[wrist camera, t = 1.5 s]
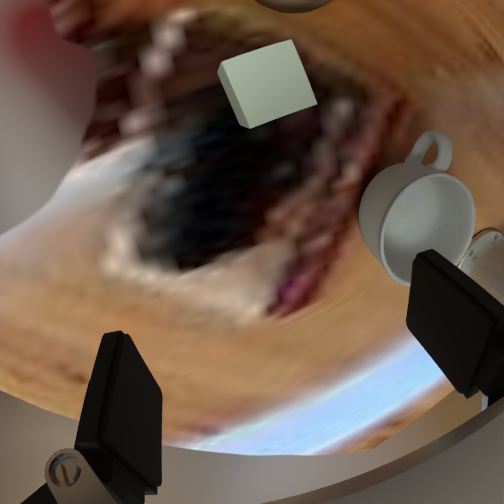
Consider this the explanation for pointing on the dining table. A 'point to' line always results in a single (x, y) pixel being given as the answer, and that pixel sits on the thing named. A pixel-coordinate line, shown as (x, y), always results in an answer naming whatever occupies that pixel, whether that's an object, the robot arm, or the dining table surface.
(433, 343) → the robot arm
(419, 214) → the teacup
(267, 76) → the sage block
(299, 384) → the dining table surface
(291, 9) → the brown round dish
